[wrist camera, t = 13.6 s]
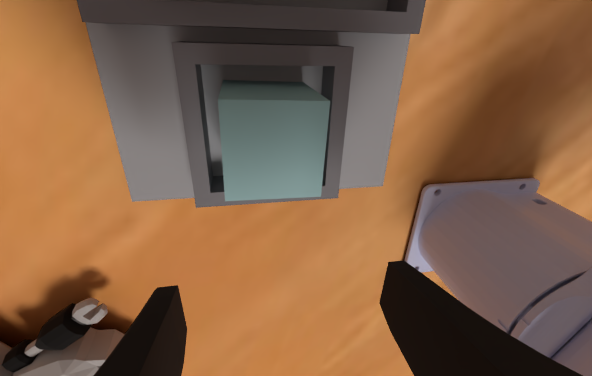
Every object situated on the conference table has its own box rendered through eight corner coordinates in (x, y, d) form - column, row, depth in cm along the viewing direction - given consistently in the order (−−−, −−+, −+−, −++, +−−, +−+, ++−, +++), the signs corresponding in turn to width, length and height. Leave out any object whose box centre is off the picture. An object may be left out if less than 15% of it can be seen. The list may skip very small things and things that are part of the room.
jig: (439, -193, 12) (495, -256, 10) (376, 179, 20) (397, 201, 17) (22, -270, 10) (-59, -386, 7) (137, 193, 17) (120, 221, 15)
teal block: (302, 82, 15) (330, 101, 11) (298, 155, 17) (320, 196, 13) (223, 79, 14) (217, 99, 10) (227, 156, 16) (225, 201, 12)
